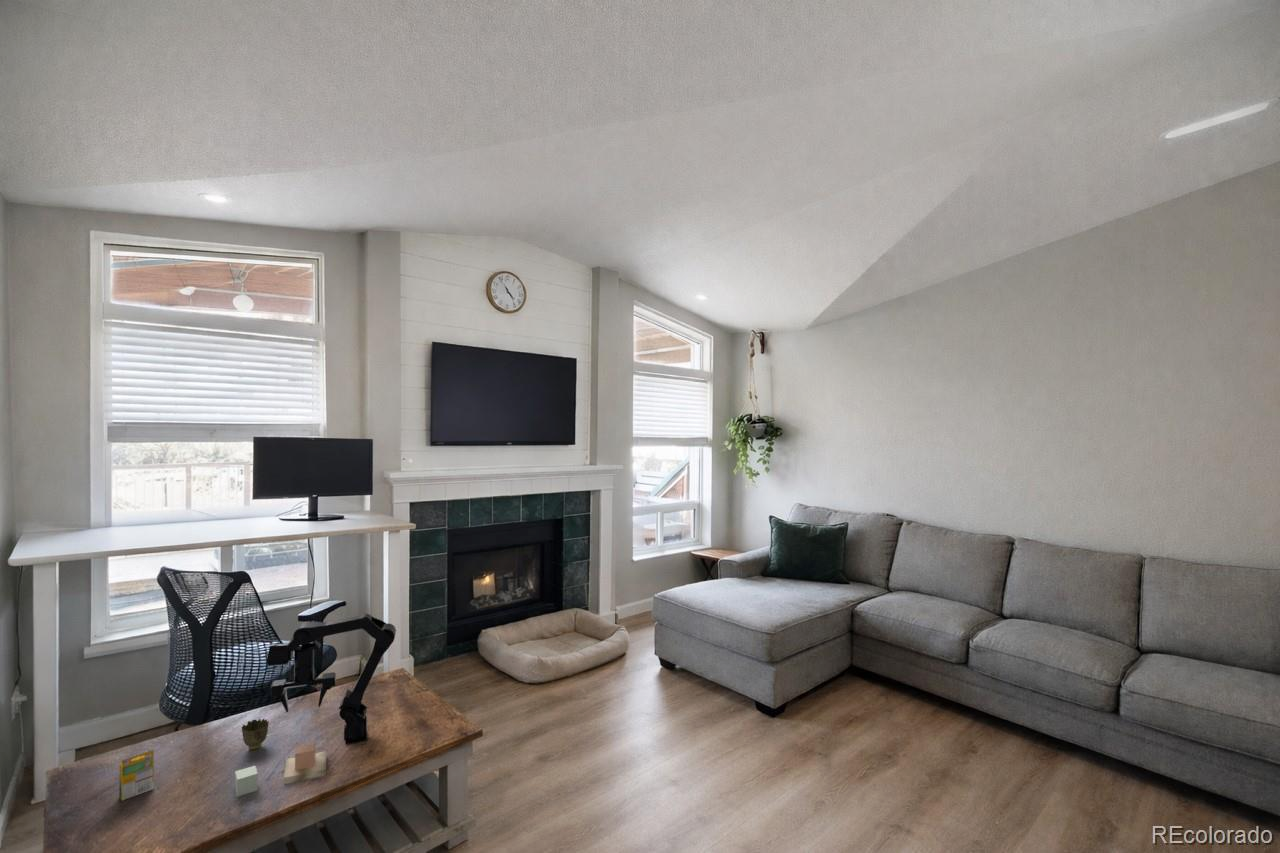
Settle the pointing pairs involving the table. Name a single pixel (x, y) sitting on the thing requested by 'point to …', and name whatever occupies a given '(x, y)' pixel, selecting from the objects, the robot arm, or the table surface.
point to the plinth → (306, 773)
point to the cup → (255, 733)
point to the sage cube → (246, 780)
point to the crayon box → (136, 775)
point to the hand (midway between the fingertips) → (303, 709)
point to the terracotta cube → (305, 756)
